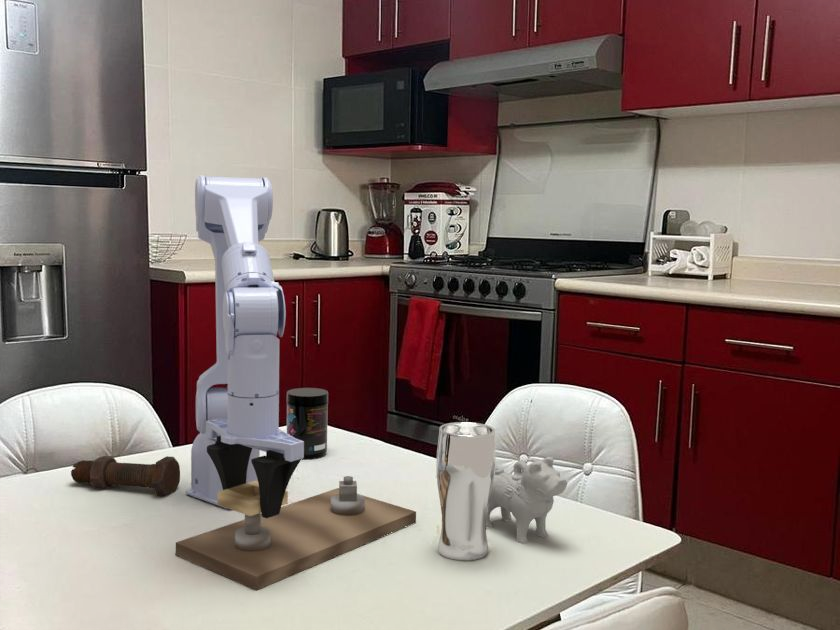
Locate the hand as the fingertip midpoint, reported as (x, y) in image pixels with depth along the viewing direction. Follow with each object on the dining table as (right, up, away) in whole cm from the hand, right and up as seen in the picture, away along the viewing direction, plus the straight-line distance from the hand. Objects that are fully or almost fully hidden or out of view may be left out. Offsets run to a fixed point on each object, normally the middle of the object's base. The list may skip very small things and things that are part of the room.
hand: (252, 508), depth 99 cm
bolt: (-23, -3, +24) cm, 33 cm away
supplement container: (+1, -1, +43) cm, 43 cm away
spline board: (+5, -5, +7) cm, 10 cm away
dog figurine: (+32, -6, +11) cm, 34 cm away
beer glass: (+24, -6, +4) cm, 26 cm away
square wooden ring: (0, +1, 0) cm, 1 cm away
